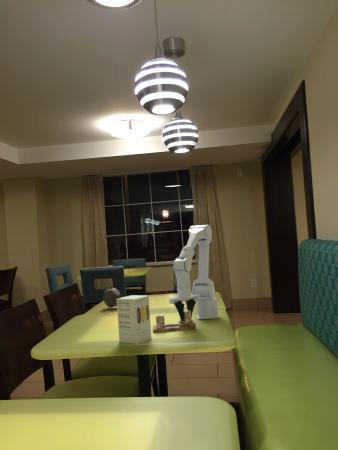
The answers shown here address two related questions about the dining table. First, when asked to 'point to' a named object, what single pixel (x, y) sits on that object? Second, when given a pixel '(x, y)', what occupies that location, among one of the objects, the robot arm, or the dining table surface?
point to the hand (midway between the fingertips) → (186, 318)
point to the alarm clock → (111, 296)
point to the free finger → (186, 317)
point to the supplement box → (134, 319)
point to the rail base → (171, 325)
